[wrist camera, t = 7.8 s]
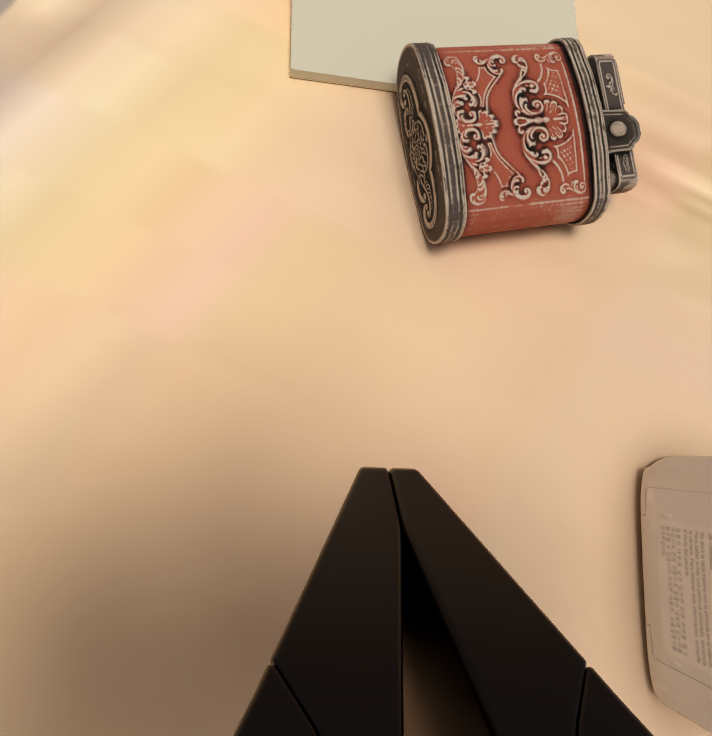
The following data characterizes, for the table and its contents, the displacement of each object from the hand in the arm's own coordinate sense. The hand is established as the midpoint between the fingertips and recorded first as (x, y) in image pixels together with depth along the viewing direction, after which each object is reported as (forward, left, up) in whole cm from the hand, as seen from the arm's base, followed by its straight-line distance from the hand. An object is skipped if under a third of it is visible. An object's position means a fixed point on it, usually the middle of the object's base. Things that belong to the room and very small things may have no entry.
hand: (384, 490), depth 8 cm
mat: (+6, +21, -12) cm, 25 cm away
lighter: (+4, +13, -11) cm, 17 cm away
